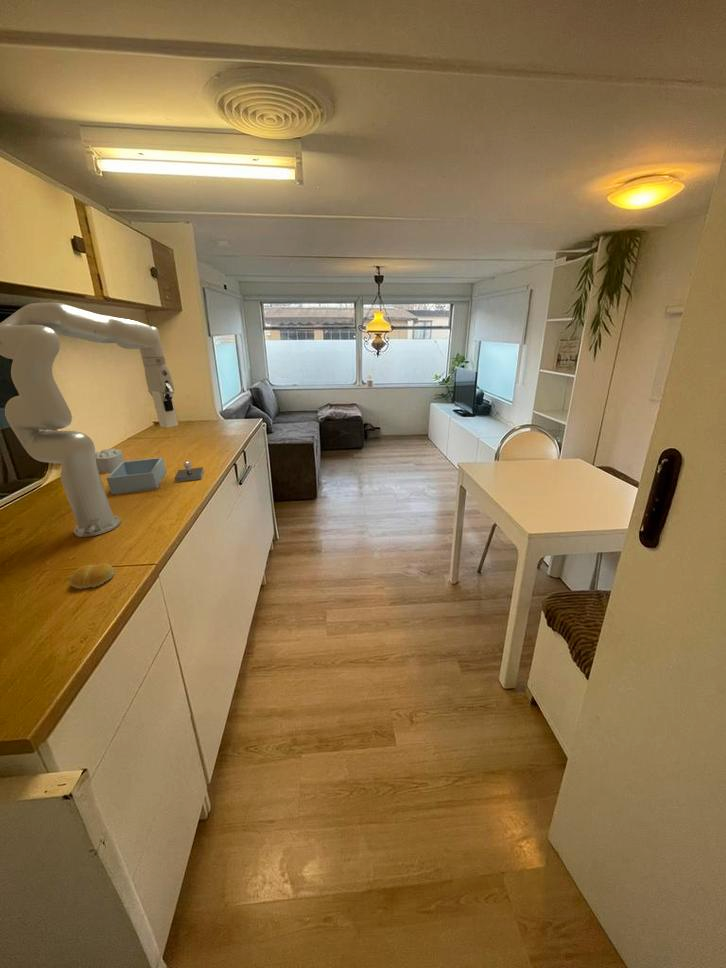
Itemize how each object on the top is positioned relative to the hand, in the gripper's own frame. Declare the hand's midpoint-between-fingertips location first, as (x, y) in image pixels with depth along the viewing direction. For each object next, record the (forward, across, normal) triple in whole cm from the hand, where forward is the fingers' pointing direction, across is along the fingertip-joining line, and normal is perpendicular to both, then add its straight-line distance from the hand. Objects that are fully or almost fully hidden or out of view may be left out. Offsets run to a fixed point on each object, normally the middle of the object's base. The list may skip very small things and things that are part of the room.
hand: (165, 409), depth 148 cm
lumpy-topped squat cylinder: (+29, +41, +6) cm, 50 cm away
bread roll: (+30, -42, +56) cm, 76 cm away
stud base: (+29, -2, -3) cm, 29 cm away
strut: (+6, 0, 0) cm, 6 cm away
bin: (+29, +11, +11) cm, 33 cm away
